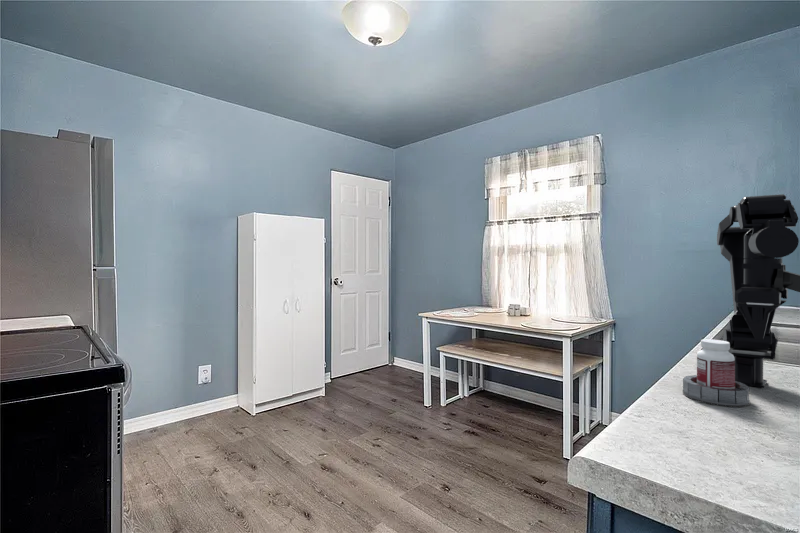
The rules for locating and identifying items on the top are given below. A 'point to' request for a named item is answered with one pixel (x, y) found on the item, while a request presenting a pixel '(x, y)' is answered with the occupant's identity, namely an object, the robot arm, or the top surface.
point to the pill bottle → (715, 364)
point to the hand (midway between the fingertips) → (762, 336)
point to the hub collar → (716, 393)
